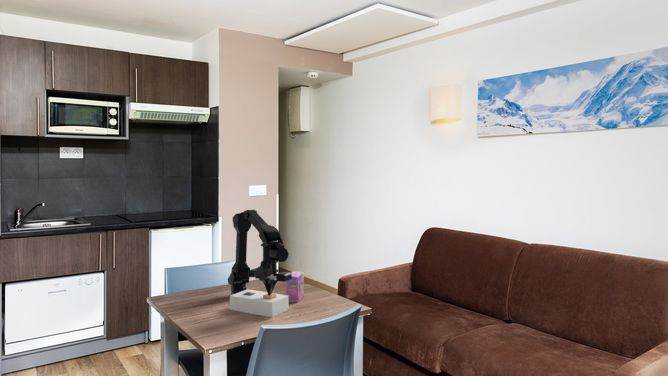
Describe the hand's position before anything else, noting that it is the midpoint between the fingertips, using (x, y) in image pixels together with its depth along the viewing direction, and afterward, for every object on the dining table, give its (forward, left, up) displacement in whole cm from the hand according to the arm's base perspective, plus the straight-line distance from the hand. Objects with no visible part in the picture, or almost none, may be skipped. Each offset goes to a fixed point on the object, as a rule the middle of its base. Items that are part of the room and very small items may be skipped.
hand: (269, 294), depth 192 cm
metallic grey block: (-11, 0, -6) cm, 13 cm away
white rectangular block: (-5, 0, -7) cm, 9 cm away
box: (0, +21, -7) cm, 22 cm away
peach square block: (0, 0, -6) cm, 6 cm away
